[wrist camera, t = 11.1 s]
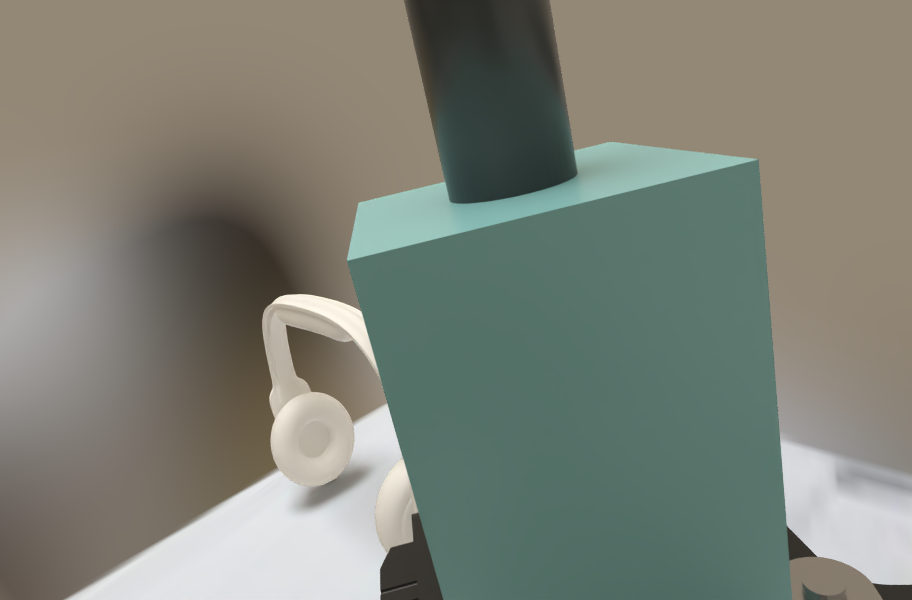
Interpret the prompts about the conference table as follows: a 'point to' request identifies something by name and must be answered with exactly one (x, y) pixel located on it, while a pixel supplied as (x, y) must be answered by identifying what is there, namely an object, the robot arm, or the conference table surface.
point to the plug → (572, 340)
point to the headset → (325, 411)
